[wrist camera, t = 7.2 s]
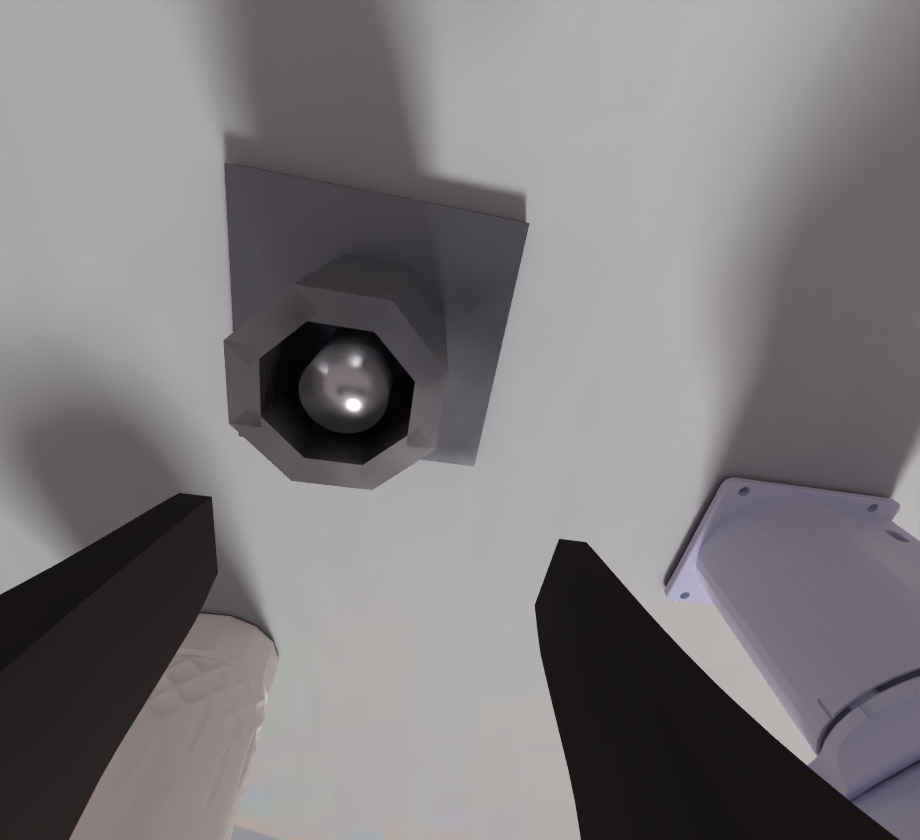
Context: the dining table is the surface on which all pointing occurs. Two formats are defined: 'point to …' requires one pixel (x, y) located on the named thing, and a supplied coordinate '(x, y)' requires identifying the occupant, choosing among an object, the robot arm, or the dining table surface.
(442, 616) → the dining table surface
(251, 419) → the tube
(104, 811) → the white cup
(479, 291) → the post
